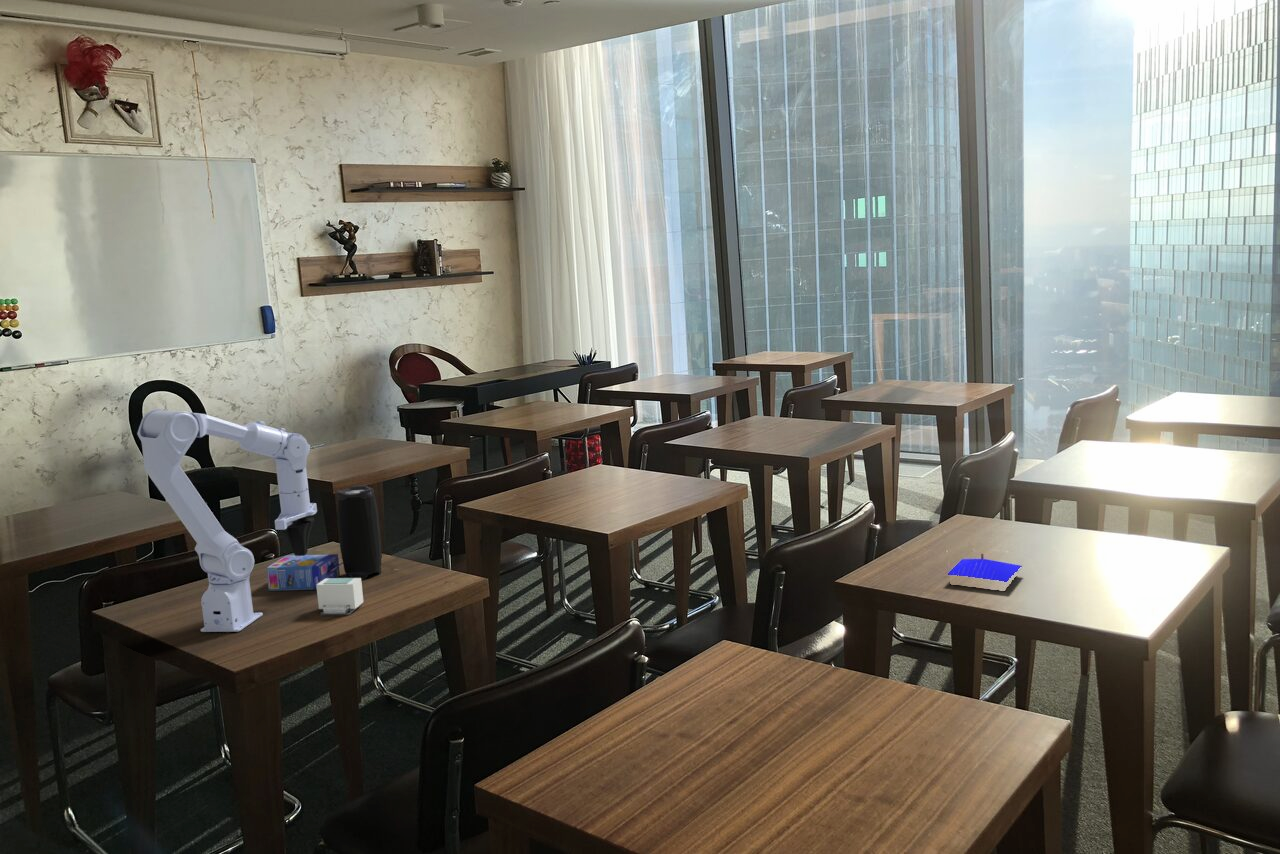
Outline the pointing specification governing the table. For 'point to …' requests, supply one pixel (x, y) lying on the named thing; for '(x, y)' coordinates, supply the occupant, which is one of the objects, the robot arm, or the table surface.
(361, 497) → the portable speaker
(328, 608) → the grey base plate
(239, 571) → the robot arm
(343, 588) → the rail module
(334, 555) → the ink cartridge box
